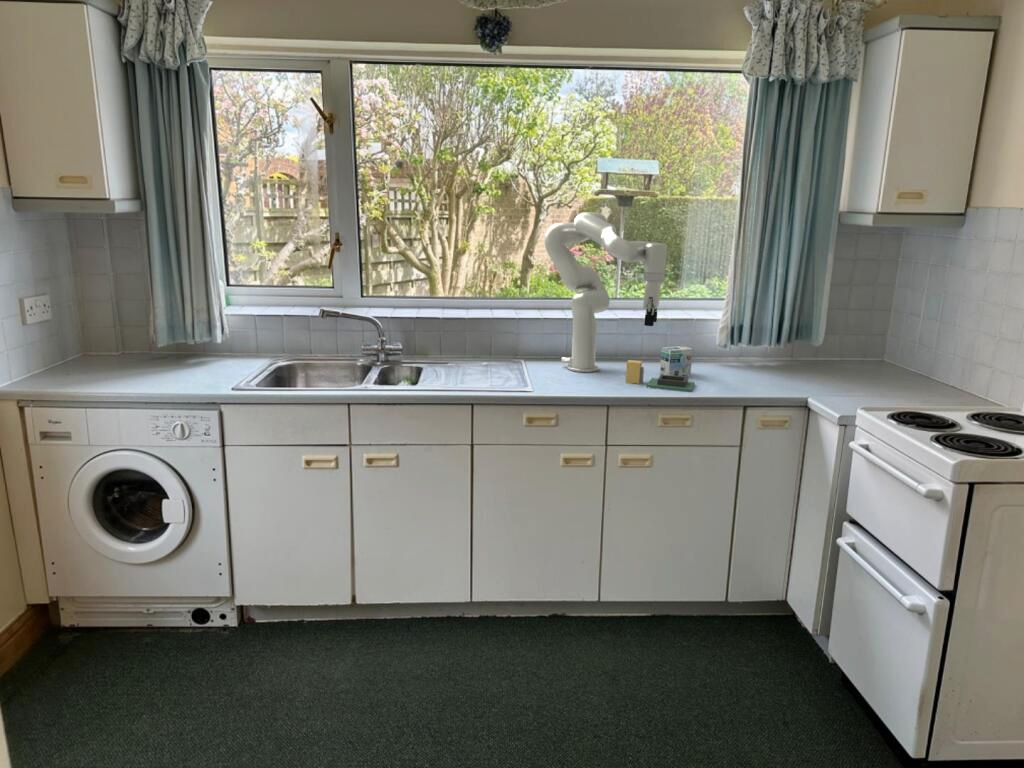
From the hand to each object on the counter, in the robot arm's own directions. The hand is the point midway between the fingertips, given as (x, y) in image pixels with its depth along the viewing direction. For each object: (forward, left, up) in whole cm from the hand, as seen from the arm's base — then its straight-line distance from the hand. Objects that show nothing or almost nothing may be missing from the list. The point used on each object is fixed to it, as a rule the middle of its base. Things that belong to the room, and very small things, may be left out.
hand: (650, 323), depth 270 cm
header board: (+9, -3, -22) cm, 24 cm away
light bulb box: (+8, +17, -22) cm, 29 cm away
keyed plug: (-5, -3, -22) cm, 23 cm away
